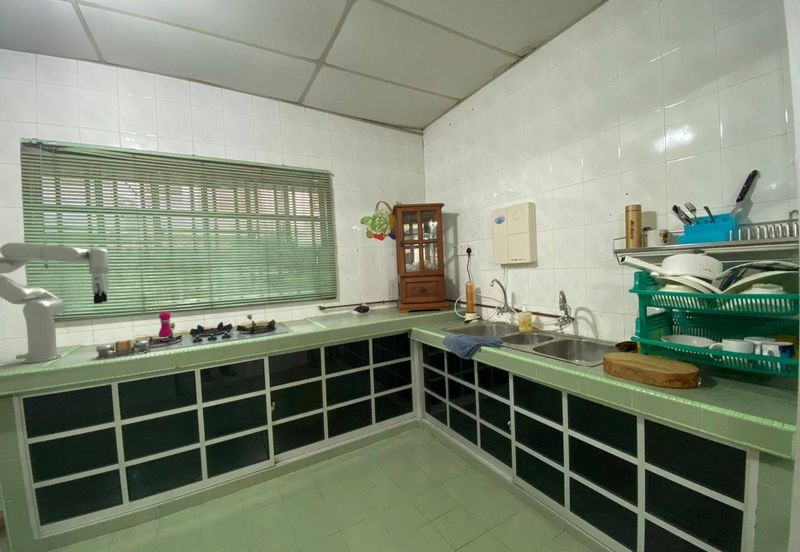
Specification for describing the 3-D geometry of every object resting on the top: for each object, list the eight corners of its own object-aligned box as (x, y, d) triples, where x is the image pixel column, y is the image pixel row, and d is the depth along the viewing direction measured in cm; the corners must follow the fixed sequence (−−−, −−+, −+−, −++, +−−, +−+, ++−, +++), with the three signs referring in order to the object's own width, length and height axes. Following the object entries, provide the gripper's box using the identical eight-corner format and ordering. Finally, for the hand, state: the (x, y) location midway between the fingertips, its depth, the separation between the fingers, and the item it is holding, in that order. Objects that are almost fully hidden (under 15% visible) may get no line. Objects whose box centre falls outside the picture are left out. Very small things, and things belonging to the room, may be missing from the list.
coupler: (131, 350, 167) (131, 339, 167) (130, 352, 164) (129, 340, 163) (117, 352, 164) (116, 341, 164) (115, 354, 160) (114, 342, 160)
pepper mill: (168, 341, 192) (166, 310, 192) (156, 342, 192) (154, 310, 191) (175, 339, 199) (174, 308, 199) (164, 339, 199) (162, 309, 198)
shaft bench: (94, 360, 154) (94, 347, 154) (100, 355, 162) (99, 344, 162) (147, 353, 165) (147, 341, 165) (150, 349, 174) (149, 338, 174)
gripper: (104, 270, 160) (106, 303, 160) (112, 271, 175) (113, 300, 175) (84, 271, 156) (86, 304, 156) (94, 271, 170) (95, 302, 171)
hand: (100, 302), depth 166 cm, fingers open, 9 cm apart
